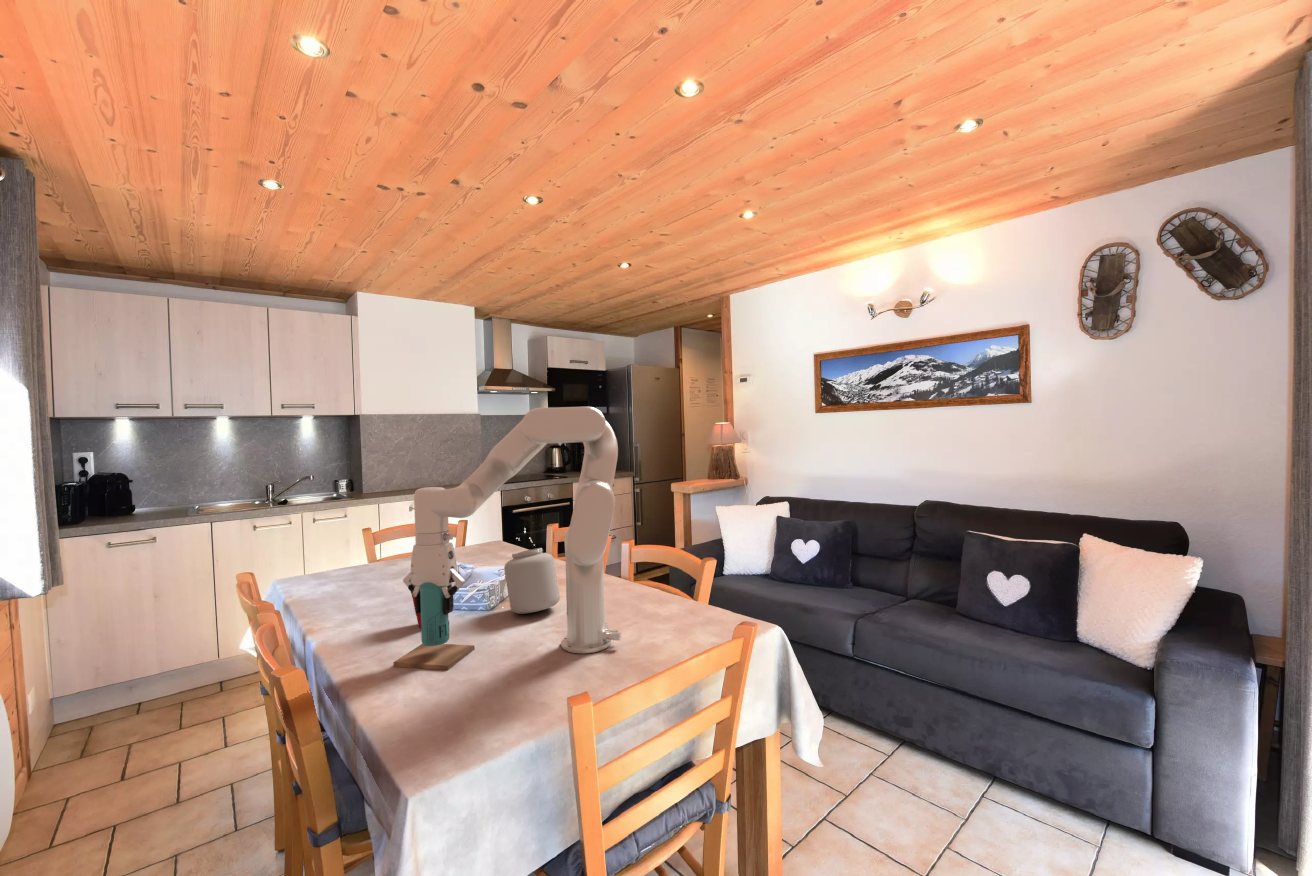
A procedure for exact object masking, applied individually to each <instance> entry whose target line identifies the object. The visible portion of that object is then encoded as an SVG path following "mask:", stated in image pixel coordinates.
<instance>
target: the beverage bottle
mask: <svg viewBox="0 0 1312 876" xmlns="http://www.w3.org/2000/svg"><path fill="white" fill-rule="evenodd" d="M443 598H445V595H444V593H443V591H442V589H441V587H439V586H437V585H435V584H433V583H431V582H426V583H423V584H421V585H420V604H421V618H420V620H421V621H420V622H421V627H419V629H420V635H421V636H420V639H421V644H423V645H425V646H437V645H441V644H447V642H449V640H450V633H451V632H450V620H449V616H450V615H449V614H450V613H448V614H447V615H444V614H443Z"/></svg>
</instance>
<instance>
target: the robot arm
mask: <svg viewBox="0 0 1312 876" xmlns="http://www.w3.org/2000/svg"><path fill="white" fill-rule="evenodd" d="M605 417H606V416H605V415H604V414H603V412H602V411H601V410H600V409H598V408H596V407H593V406H589V405H588V406H565V407H562V406H561V407H535V408H532V409H530V410H529V411H528V412H526V413H525V415H524V416H523V418H522V419H521V420H520V421H519V422H518V423H517V424H516V426H514V427H513V428H512V429H511V430H510V431H508V433H507V434H506V435H505V436H504V437H503V438H502V439H501V440H500V441H498V443H496V444H495V445H494V446H493V448H492V449H491V450H490V451H489V452H488V455H487V456H486V458H485V459H484V460H483V462H482V463H481V464H479V466H478V467H477V468H476V469H475V470H474V471H473V472H472V473H471V474H470V475H469V476H468V477H467V478H466V479H465V480H463V482H461V483H460V485H458V486H456V487H451V488H444V487H442V486H430V487H429V486H428V487H426V486H425V487H421V488H417V489H416V490H415V492H414V495H413V498H414V499H413V500H414V501H413V504H414V505H413V506H414V533H415V535H414V537H415V539H414V541H415V544H414V545H413V547H412V551H411V559H410V572H408V574H407V575H406V576H405V577H404V578H403V579H402V582H403V583H404V585H405V586H406V587H407V589H408V590H409V591H410V593H411V592H412V594H411V596H412V595H413V597H415V608H416V613H421V604H420V585H421V584H423V583H426V582H431V583H433V584H435V585H437V586H439V587H441V589H442V591H443V593H444V595H445V598H443V614H444V615H447V614H450V613H452V612H453V610H454V606H455V605H454V595H456V593H457V592H458V591H459V590H460V588H462V587H463V585H464V584H465V582H466V581H465V579H464V578H463V577H462V576H461V575H460V574H459V573H458V566H457V565H458V564H457V558H456V552H455V548H454V545H453V542H450V541H451V540H453V539H454V534H453V533H450V529H449V528H450V527H449V518H457V519H464V518H465V519H466V518H468V517H471V516H473V515H474V513H476V511H478V509H480V507H481V506H482V505H484V503H486V502H487V500H488V499H490V498H491V496H492V495H494V494H495V492H496V491H497V490H498V489H500V487H502V486H503V485H504V484H505V483H506V482H507V481H508V480H510V479H512V478H514V477H515V475H517V473H519V472H521V470H522V469H523V468H524V467H525V466H526V465H527V464H528V463H529V462H530V461H531V460H533V458H534V457H535V456H536V455H537V454H538V453H539V452H541V450H543V448H544V447H545V446H547V444H565V443H567V444H568V443H569V444H570V443H571V444H572V443H582V444H583V447H584V455H583V460H582V465H581V470H580V472H581V473H580V476H579V480H578V482H577V483H578V484H577V487H576V490H575V492H574V506H573V511H572V515H571V518H570V524H569V526H568V527H567V529H566V531H565V535H564V552H565V554H564V555H565V590H566V591H565V593H566V629H567V631H566V632H567V633H566V634H567V635H565V636H564V637H563V638H562V639H561V641H560V643H561V648H562V649H563V650H564V651H566V652H569V653H574V654H591V653H597V652H600V651H603V650H606V649H607V648H609V647H610V645H611V644H612V641H616V642H617V641H618V642H620V641H621V640H622V632H619V629H611V628H609V623H606V621H605V620H606V619H605V574H604V573H605V572H604V570H605V569H604V554H605V552H606V550H607V545H608V542H609V537H610V532H611V531H610V530H611V527H612V522H613V518H614V513H615V508H616V507H615V506H616V497H615V494H614V491H613V486H614V480H615V475H616V469H617V463H618V457H619V455H618V454H619V447H618V439H617V437H616V434H615V431H614V430H613V428H612V426H611V425H610V423H609V422H608V421H607V420H606V418H605ZM453 583H454V585H453ZM415 608H414V609H415ZM416 613H415V614H416Z"/></svg>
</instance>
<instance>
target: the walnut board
mask: <svg viewBox="0 0 1312 876" xmlns="http://www.w3.org/2000/svg"><path fill="white" fill-rule="evenodd" d="M473 651H475V645H472V644H471V645H470V644H451V643H444V644H441V645H437V646H425V645H423V644H422V643H421V644H419V645H418V646H417V647H415V648H413V649H412V650H411V651H409V652H407V653H406V654H404V655H402V656H401V657H399V658H398V659H396V660H395V661H393V667H394V666H397V668H411V669H426V670H441V671H449V670H450V669H451V668H453V667H454V666H456V665H457V664H458V663H459V662H460V661H462V660H463V659H464V658H466V657H467V656H469V654H471V653H472V652H473ZM465 656H466V657H465Z"/></svg>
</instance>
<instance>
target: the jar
mask: <svg viewBox="0 0 1312 876" xmlns="http://www.w3.org/2000/svg"><path fill="white" fill-rule="evenodd" d="M523 532H524V534H526V533H527V532H526V528H525V527H524V531H523ZM515 539H516V540H517V539H518V541H521V540H520V537H519V538H518V537H516V538H515ZM528 539H530V542H531V543H533V541H532V539H531V537H529V538H528ZM535 545H536V544H533V546H535ZM535 547H536V546H535ZM511 558H512V559H510V560H509V561H506V563H505V565H504V567H503V570H504V575H505V582H506V590H507V596H508V602H509V607H510V610H511V611H512V613H515V614H518V615H522V614H523V615H524V614H531V613H535V612H536V613H537V612H539V611H544V610H546V609H550V608H552V607H554V606H556V605H557V604H558V603H559V601H560V600H561V594H560V588H559V583H558V576H557V571H556V565H555V564H556V563H555V559H554V556H553V555H552V554H550V553H548V552H543V548H542V547H538V548H532V549H528V550H523V551H519V552H514V553H512V554H511ZM502 609H504V606H502Z"/></svg>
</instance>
